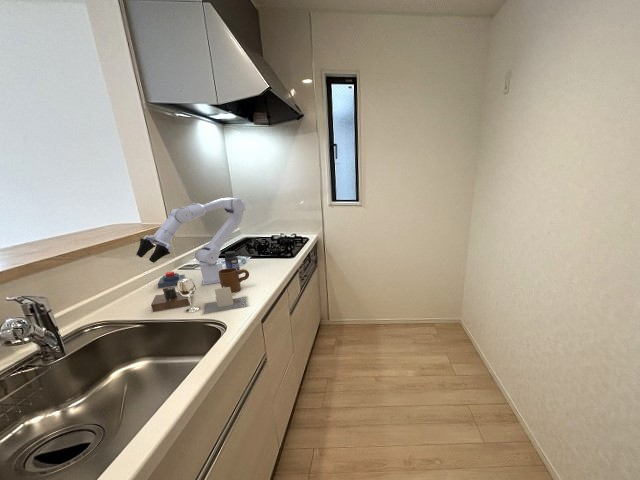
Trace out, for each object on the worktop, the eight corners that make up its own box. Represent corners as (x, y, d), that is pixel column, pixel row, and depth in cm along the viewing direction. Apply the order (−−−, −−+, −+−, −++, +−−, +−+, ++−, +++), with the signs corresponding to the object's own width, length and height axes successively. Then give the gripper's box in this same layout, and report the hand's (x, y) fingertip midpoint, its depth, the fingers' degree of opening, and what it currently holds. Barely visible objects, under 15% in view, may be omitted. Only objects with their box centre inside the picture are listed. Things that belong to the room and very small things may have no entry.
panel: (191, 296, 133) (189, 289, 132) (189, 305, 124) (187, 298, 123) (157, 302, 128) (155, 294, 127) (153, 311, 119) (150, 304, 118)
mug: (252, 285, 145) (248, 266, 142) (251, 290, 138) (247, 270, 135) (223, 289, 141) (219, 269, 138) (221, 294, 134) (216, 274, 131)
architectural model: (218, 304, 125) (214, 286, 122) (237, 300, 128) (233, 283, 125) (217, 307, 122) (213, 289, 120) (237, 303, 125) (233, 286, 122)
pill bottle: (235, 274, 160) (231, 253, 156) (224, 274, 161) (220, 253, 157) (242, 271, 166) (238, 250, 162) (232, 270, 167) (228, 250, 163)
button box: (185, 278, 156) (183, 270, 155) (184, 284, 148) (181, 276, 146) (161, 281, 152) (159, 274, 150) (158, 288, 143) (156, 280, 142)
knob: (177, 294, 128) (175, 285, 126) (176, 297, 124) (173, 288, 123) (165, 296, 126) (163, 287, 124) (164, 299, 123) (161, 290, 121)
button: (175, 274, 151) (174, 271, 150) (174, 276, 148) (173, 272, 147) (166, 275, 149) (165, 272, 149) (165, 277, 146) (164, 274, 146)
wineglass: (188, 307, 123) (180, 278, 118) (203, 306, 123) (196, 277, 119) (180, 313, 117) (172, 283, 113) (196, 312, 118) (188, 282, 113)
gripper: (146, 222, 130) (124, 248, 125) (171, 231, 125) (148, 258, 121) (160, 232, 136) (139, 257, 131) (183, 241, 132) (163, 267, 127)
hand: (145, 258), depth 127 cm, fingers open, 7 cm apart
